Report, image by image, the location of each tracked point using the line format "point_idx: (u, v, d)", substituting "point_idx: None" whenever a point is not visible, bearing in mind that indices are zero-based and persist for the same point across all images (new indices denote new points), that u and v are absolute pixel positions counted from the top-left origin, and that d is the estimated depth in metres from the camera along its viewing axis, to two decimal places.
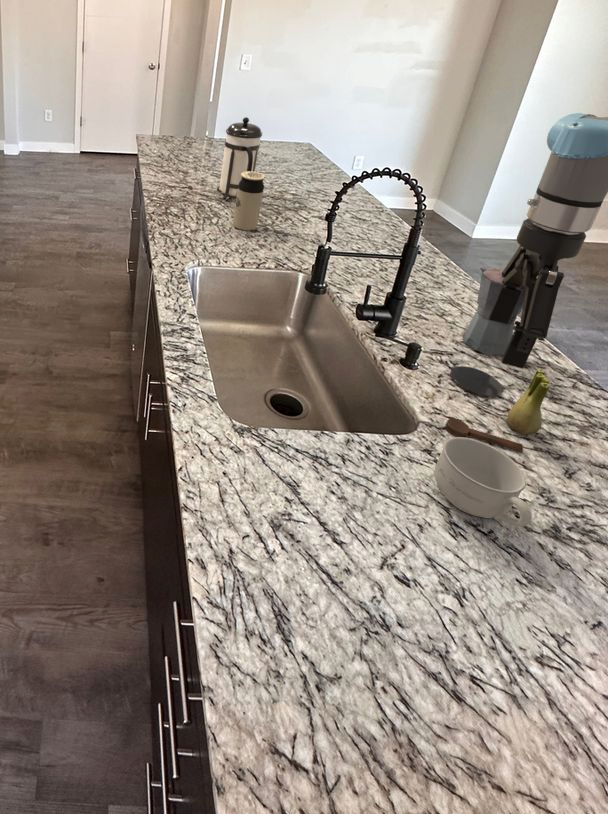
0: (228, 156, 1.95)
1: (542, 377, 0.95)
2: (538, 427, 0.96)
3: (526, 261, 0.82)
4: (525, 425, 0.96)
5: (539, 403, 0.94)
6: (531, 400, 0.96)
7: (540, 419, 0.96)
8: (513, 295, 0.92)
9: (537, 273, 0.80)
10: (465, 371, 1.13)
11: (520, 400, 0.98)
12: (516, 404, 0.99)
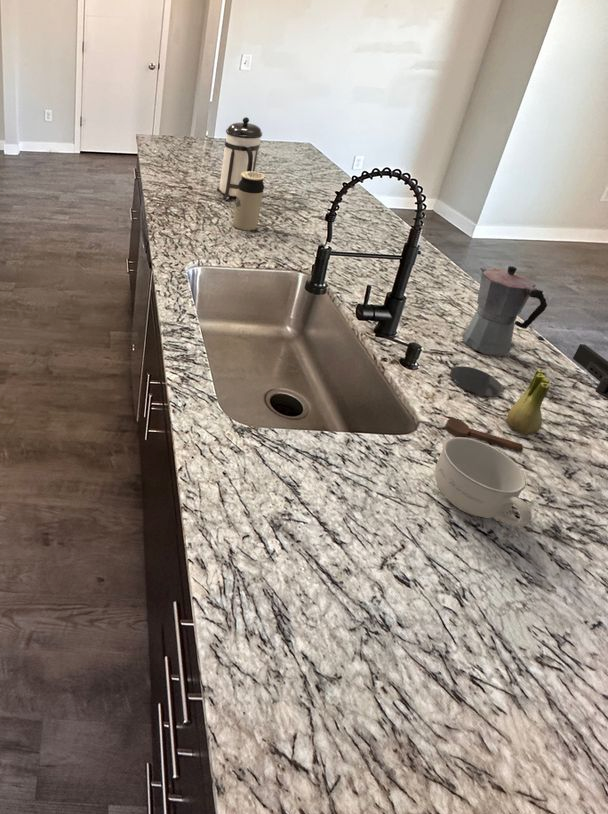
0: (228, 156, 1.95)
1: (542, 377, 0.95)
2: (538, 427, 0.96)
3: None
4: (525, 425, 0.96)
5: (539, 403, 0.94)
6: (531, 400, 0.96)
7: (540, 419, 0.96)
8: None
9: None
10: (465, 371, 1.13)
11: (520, 400, 0.98)
12: (516, 404, 0.99)
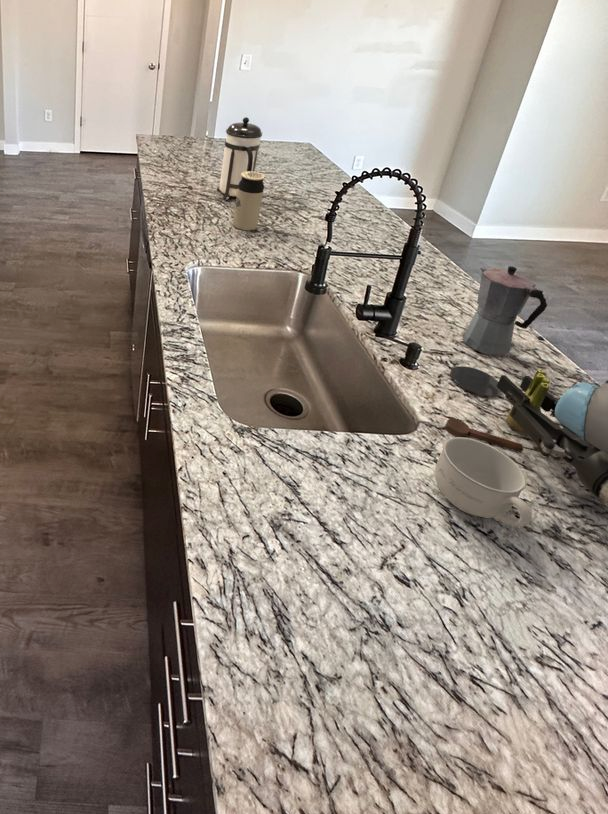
0: (228, 156, 1.95)
1: (542, 377, 0.95)
2: None
3: None
4: None
5: (539, 403, 0.94)
6: (531, 400, 0.96)
7: None
8: None
9: None
10: (465, 371, 1.13)
11: None
12: None
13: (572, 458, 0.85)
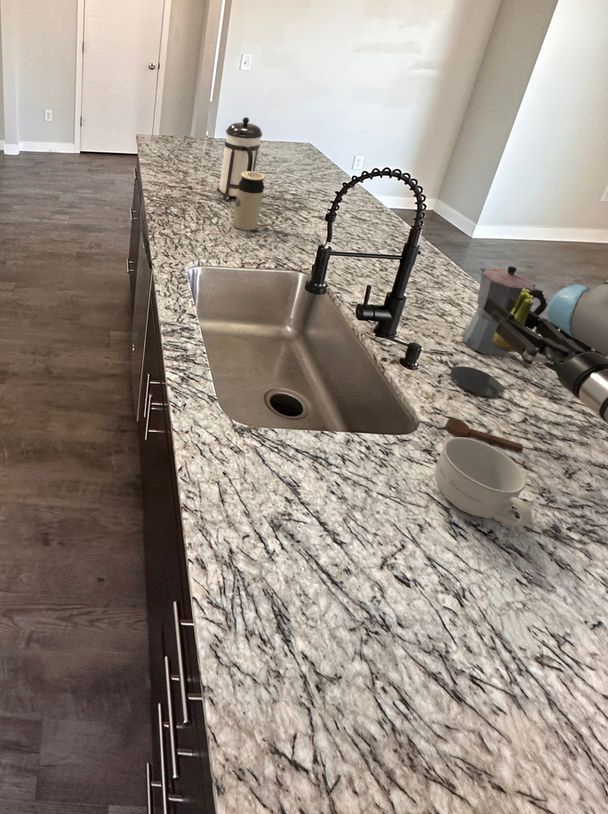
0: (228, 156, 1.95)
1: (526, 295, 0.98)
2: None
3: None
4: None
5: (523, 319, 0.98)
6: (516, 317, 0.99)
7: None
8: None
9: None
10: (465, 371, 1.13)
11: None
12: None
13: (554, 363, 0.88)
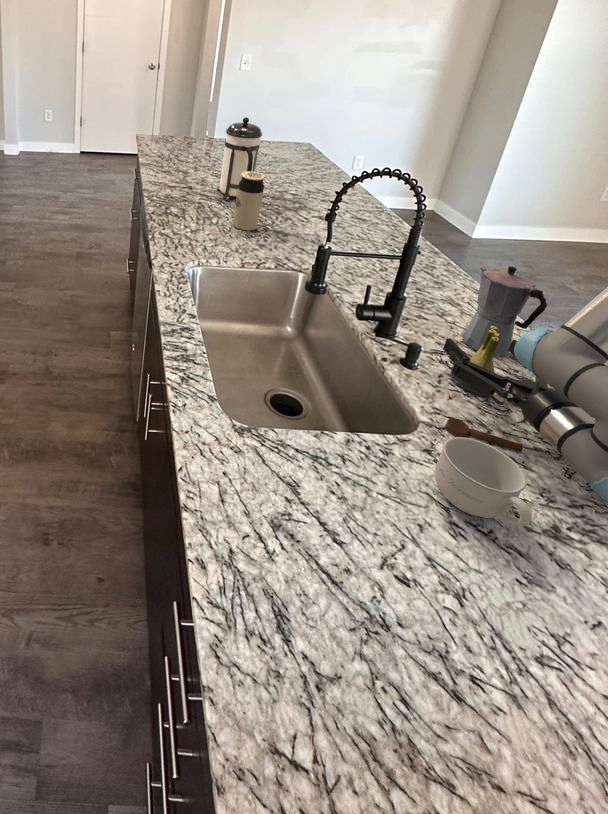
0: (228, 156, 1.95)
1: (493, 332, 1.06)
2: None
3: None
4: None
5: (490, 355, 1.05)
6: (484, 353, 1.07)
7: (492, 371, 1.07)
8: None
9: None
10: None
11: (475, 354, 1.09)
12: (472, 358, 1.10)
13: (518, 399, 0.95)
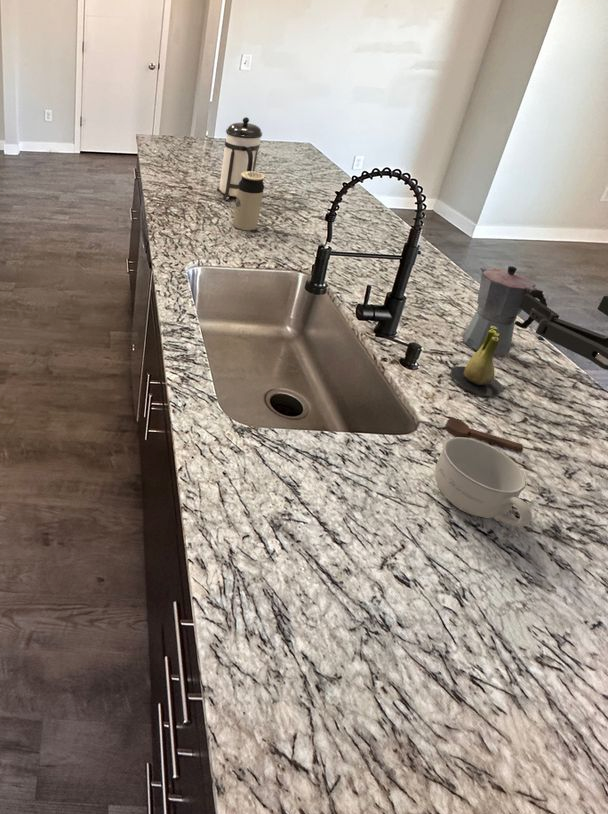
0: (228, 156, 1.95)
1: (493, 332, 1.06)
2: (491, 378, 1.08)
3: None
4: (479, 376, 1.07)
5: (490, 355, 1.05)
6: (484, 353, 1.07)
7: (492, 371, 1.07)
8: None
9: None
10: None
11: (475, 354, 1.09)
12: (472, 358, 1.10)
13: None
